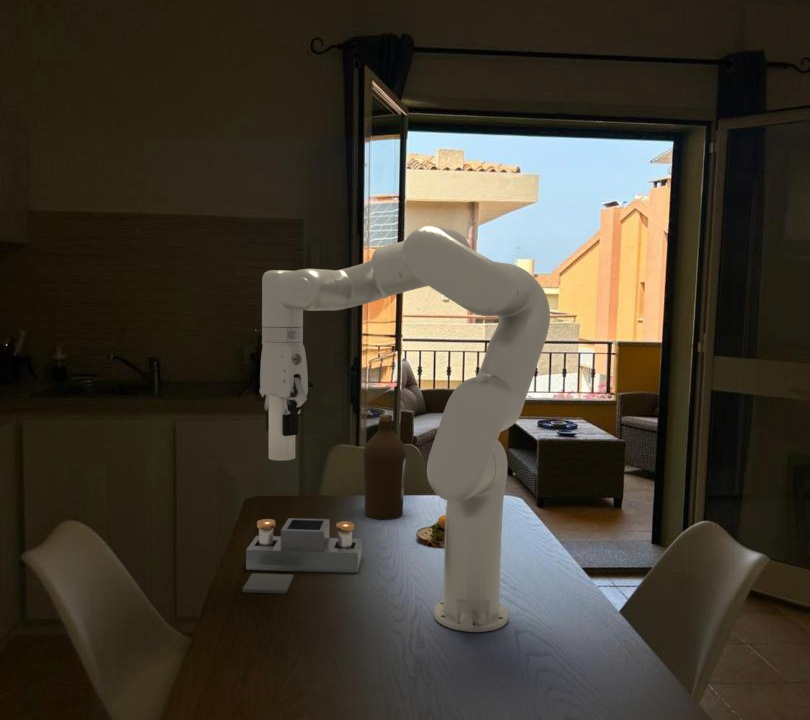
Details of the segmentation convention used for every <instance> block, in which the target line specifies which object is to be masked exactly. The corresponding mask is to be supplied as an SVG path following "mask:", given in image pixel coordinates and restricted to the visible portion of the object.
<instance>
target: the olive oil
mask: <svg viewBox="0 0 810 720" xmlns="http://www.w3.org/2000/svg"><path fill="white" fill-rule="evenodd" d="M392 419H393V415H392V414H387V413H386V414H384V413H383V414H379V420H378V430H377V432H376V433H374V434H373V436H372V437H371V438H370V439H369V440H368V441H367V442H366V444H365V446H364V450H363V476H364V477H363V478H364V479H363V480H364V481H363V482H364V514H365V516H367V517H368V518H370V519H374V520H375V519H376V520H393V519H398V518H400V517H402V516H403V513H404V510H403V509H404V495H405V492H404V491H405V478H406V475H405V474H406V465H407V464H406V463H407V462H406V461H407V451H406V446H405V445H404V443H403V441H402V440H401V439H400V438H399V437H398V435H397V434H396V433H395V432H394V430H393V420H392Z"/></svg>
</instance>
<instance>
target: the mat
mask: <svg viewBox="0 0 810 720" xmlns="http://www.w3.org/2000/svg"><path fill="white" fill-rule="evenodd" d="M294 575H295V574H290V573H288V574H285V573H283V574H281V573H254V572H253V573H251V575H250V576H249V578H248V580H247V581H246V583H245V584H244V585H243V587H242V588H241V590H242V591H241V593H255V594H259V593H260V594H285V595H286V594H287V593H288V590H289V589H290V586H291V585H292V583H293V579H294V577H295V576H294Z"/></svg>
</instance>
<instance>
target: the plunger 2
mask: <svg viewBox="0 0 810 720" xmlns="http://www.w3.org/2000/svg"><path fill="white" fill-rule="evenodd" d="M335 530H336V531H337V538H338V548H342V549H352V539H353V531H354V530H355V522H353V521H347V520H344V521H339V522H337V523H336V529H335Z"/></svg>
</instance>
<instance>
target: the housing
mask: <svg viewBox="0 0 810 720" xmlns="http://www.w3.org/2000/svg"><path fill="white" fill-rule="evenodd" d="M362 541H363V539H362V538H352V549H342V548H338V537H330V519H328V518H297V517H296V518H293V517H292V518H287V520H286V522H285V523H284V525H283V526H282V528H281V530H280V536H278V535H277V536H275V535H273V546H259V535H255V537H254V538H253V540H252V541H251V542H250V544H249V545H248V546H247V547H246V549H245V556H246V557H245V558H246V559H245V570H247V571H272V572H274V571H275V572H276V571H279V572H305V573H306V572H308V573H309V572H311V573H340V574H341V573H343V574H344V573H345V574H348V573H349V574H359V568H360V565H361V561H362V550H363V549H362V547H363V545H362V544H363V543H362Z"/></svg>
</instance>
